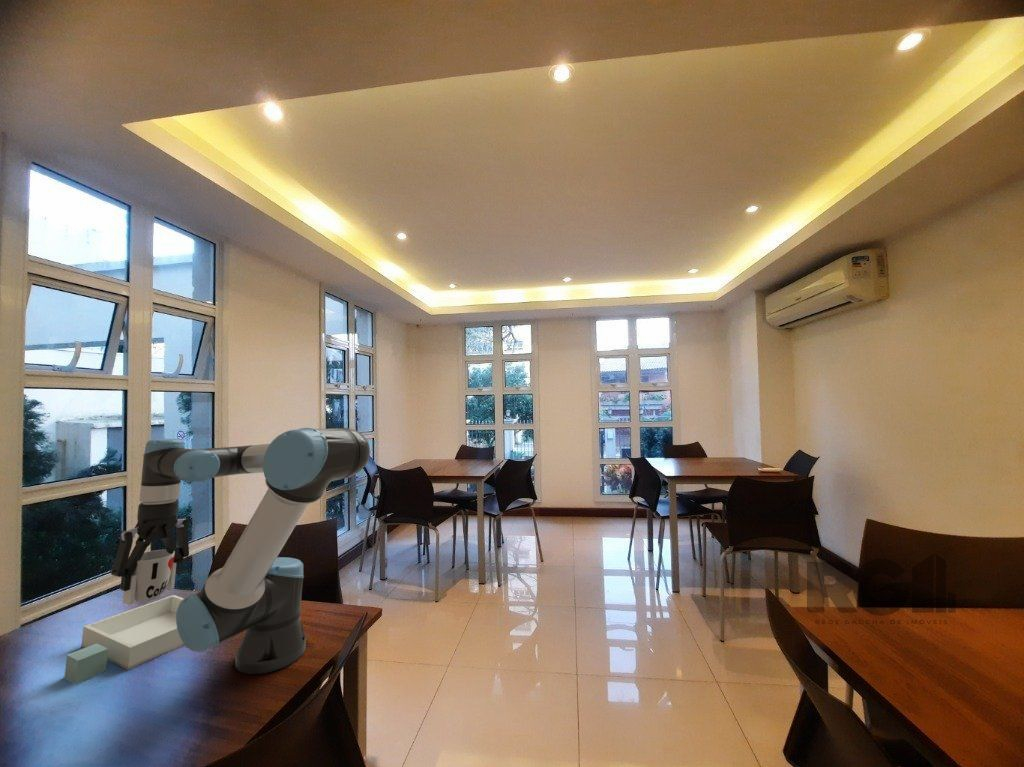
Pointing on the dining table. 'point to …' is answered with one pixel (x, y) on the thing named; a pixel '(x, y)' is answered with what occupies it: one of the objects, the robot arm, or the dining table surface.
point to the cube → (86, 663)
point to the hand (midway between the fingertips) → (149, 595)
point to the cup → (152, 574)
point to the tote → (137, 633)
